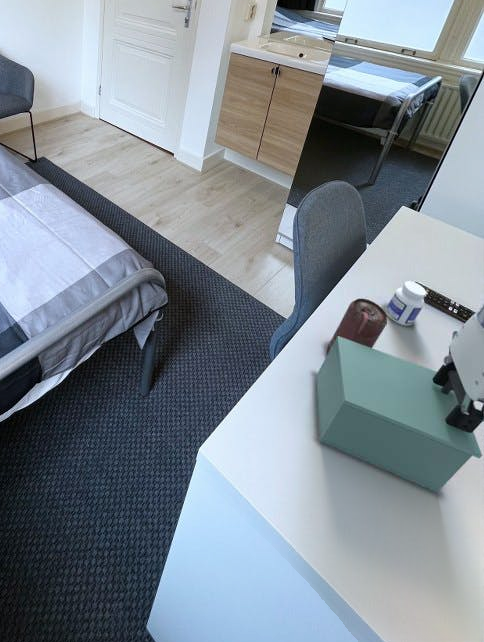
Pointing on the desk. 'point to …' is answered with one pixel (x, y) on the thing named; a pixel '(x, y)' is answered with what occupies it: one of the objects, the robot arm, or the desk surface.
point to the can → (361, 323)
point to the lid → (402, 394)
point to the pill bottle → (406, 303)
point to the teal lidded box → (380, 436)
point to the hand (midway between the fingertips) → (450, 404)
